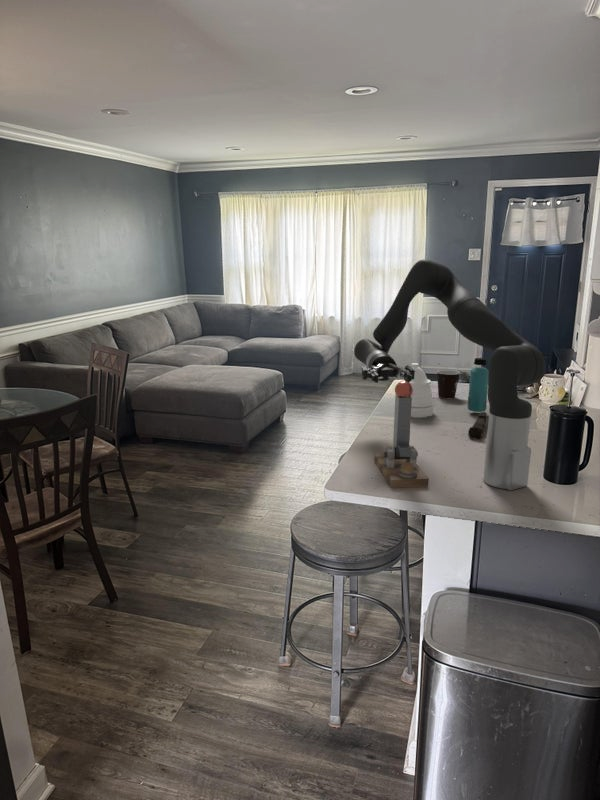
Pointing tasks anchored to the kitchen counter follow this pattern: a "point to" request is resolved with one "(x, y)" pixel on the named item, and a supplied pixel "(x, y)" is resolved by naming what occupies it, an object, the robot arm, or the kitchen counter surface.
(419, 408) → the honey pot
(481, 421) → the hand tool
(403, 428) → the lever
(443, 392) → the coffee mug
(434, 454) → the kitchen counter surface
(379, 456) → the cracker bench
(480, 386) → the beverage bottle
